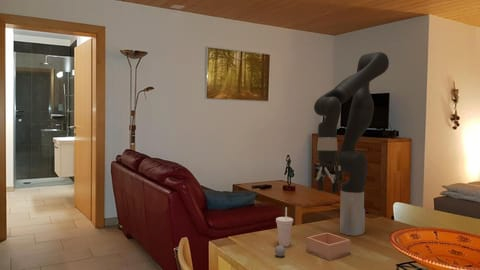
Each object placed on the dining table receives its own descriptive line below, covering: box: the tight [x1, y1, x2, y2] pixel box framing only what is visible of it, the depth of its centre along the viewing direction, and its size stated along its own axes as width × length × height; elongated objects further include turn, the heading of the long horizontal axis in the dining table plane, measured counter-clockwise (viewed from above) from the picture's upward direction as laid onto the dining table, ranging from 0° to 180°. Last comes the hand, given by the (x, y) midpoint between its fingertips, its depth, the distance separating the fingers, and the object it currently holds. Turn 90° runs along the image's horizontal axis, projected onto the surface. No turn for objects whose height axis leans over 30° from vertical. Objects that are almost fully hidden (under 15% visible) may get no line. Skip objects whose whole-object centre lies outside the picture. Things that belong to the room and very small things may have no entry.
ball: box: [274, 245, 286, 257], centre depth 134 cm, size 4×4×4 cm
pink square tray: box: [305, 232, 352, 261], centre depth 138 cm, size 11×11×5 cm
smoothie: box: [275, 206, 294, 248], centre depth 146 cm, size 6×6×14 cm
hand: (327, 191), depth 152 cm, fingers open, 8 cm apart
